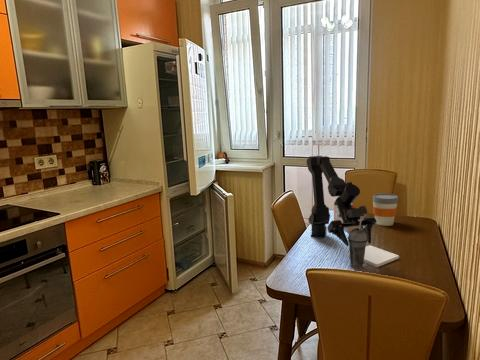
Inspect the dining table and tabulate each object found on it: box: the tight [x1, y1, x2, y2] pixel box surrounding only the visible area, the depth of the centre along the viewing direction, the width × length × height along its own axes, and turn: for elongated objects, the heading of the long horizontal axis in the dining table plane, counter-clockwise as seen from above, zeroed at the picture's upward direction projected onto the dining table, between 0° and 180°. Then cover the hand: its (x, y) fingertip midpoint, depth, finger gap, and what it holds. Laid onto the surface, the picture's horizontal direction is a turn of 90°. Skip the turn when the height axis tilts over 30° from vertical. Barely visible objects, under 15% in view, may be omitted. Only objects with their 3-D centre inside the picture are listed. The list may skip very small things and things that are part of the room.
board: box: [347, 244, 400, 268], centre depth 144 cm, size 14×14×1 cm
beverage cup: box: [347, 217, 368, 270], centre depth 133 cm, size 7×7×20 cm
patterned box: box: [333, 199, 360, 234], centre depth 182 cm, size 21×6×12 cm, turn 4°
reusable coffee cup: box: [372, 193, 399, 227], centre depth 184 cm, size 13×13×15 cm
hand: (359, 244), depth 132 cm, fingers open, 9 cm apart
